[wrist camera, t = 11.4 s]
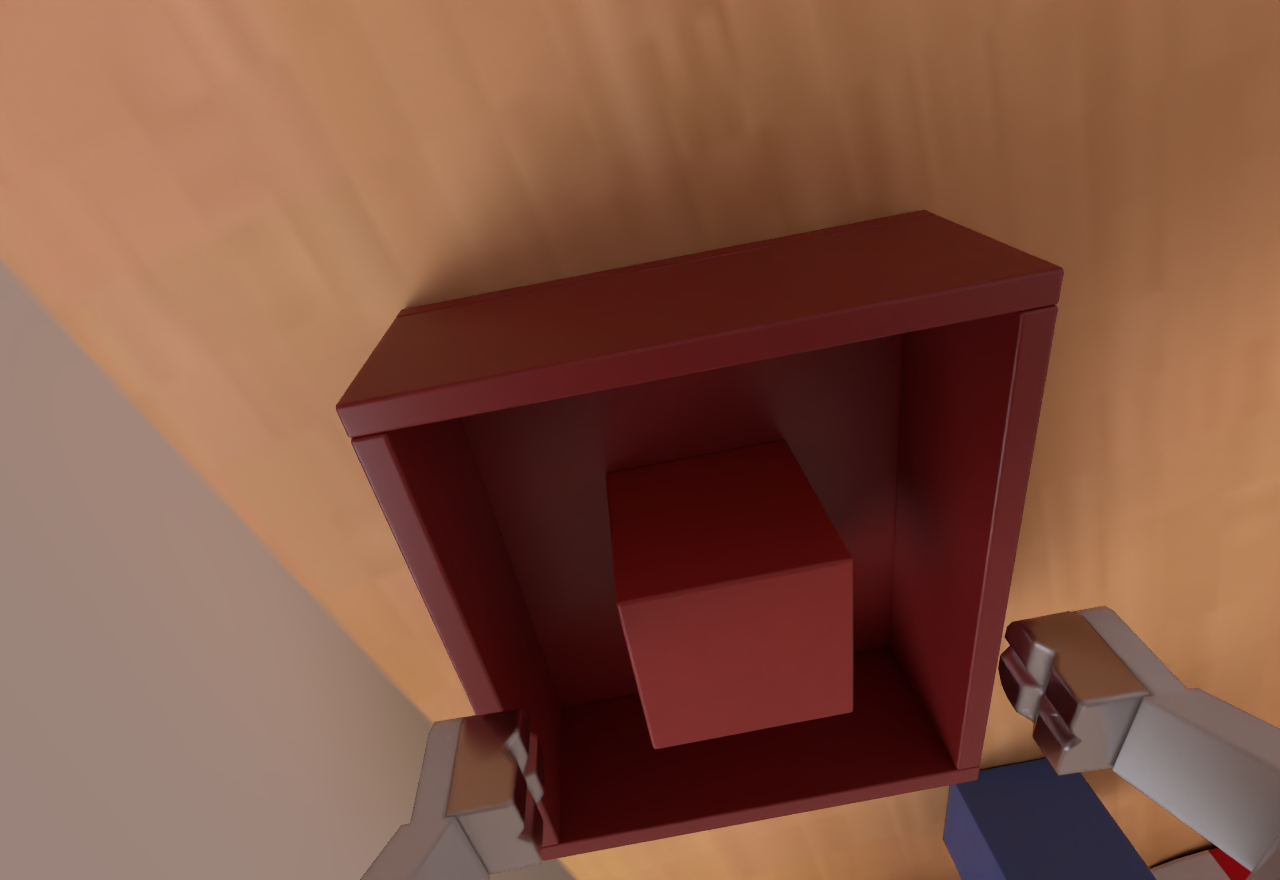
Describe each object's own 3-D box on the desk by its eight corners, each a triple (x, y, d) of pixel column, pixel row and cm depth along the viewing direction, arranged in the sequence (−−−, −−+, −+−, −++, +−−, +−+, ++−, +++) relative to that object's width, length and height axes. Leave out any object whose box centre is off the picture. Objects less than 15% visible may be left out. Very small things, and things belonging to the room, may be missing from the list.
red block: (604, 472, 16) (615, 604, 12) (786, 437, 16) (855, 559, 12) (635, 604, 18) (653, 751, 14) (794, 574, 18) (854, 713, 14)
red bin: (400, 309, 14) (332, 406, 10) (926, 208, 14) (1067, 267, 10) (547, 709, 20) (541, 861, 16) (900, 643, 20) (978, 780, 16)
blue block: (950, 775, 24) (1021, 907, 20) (1067, 753, 24) (1159, 881, 20) (942, 838, 26) (1004, 968, 23) (1049, 818, 26) (1128, 945, 23)
